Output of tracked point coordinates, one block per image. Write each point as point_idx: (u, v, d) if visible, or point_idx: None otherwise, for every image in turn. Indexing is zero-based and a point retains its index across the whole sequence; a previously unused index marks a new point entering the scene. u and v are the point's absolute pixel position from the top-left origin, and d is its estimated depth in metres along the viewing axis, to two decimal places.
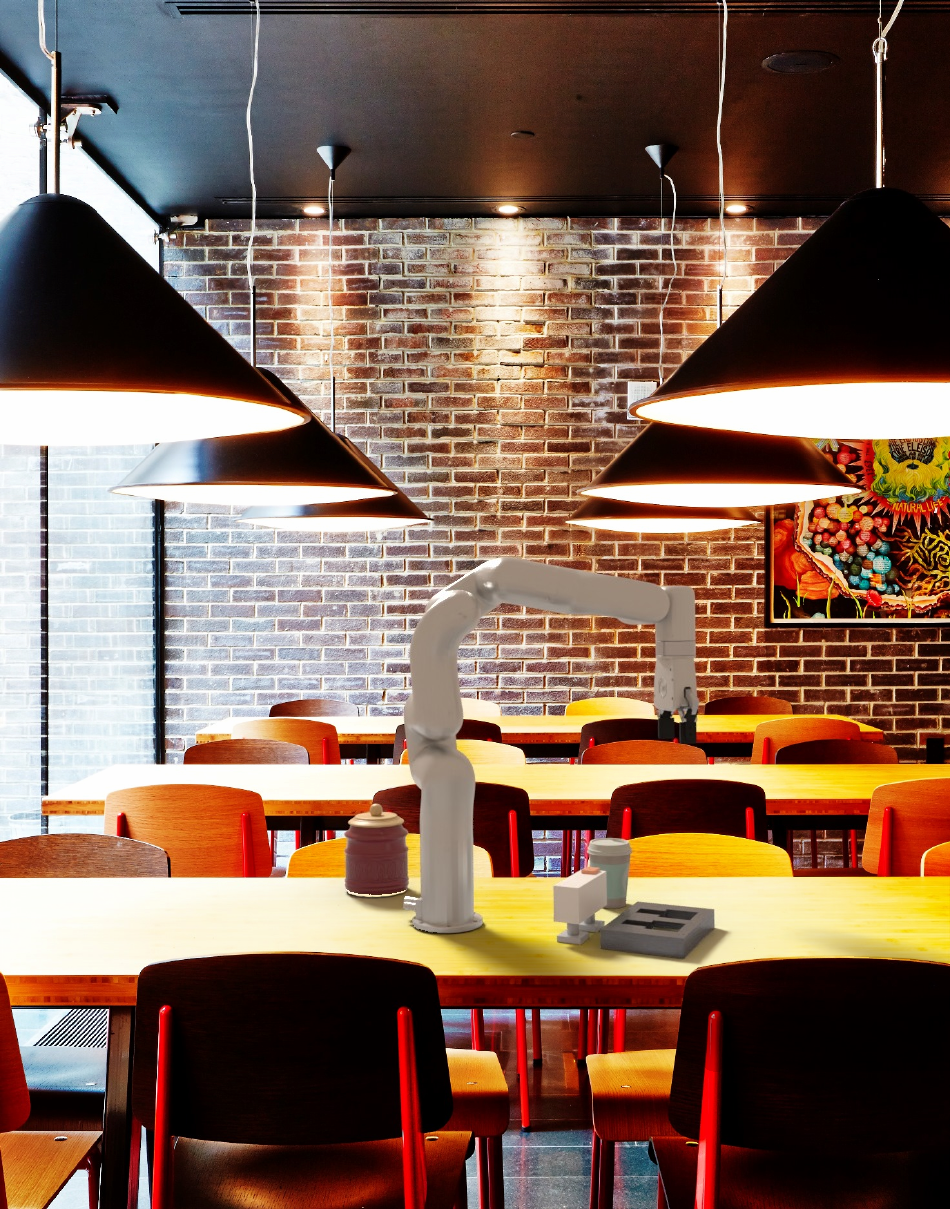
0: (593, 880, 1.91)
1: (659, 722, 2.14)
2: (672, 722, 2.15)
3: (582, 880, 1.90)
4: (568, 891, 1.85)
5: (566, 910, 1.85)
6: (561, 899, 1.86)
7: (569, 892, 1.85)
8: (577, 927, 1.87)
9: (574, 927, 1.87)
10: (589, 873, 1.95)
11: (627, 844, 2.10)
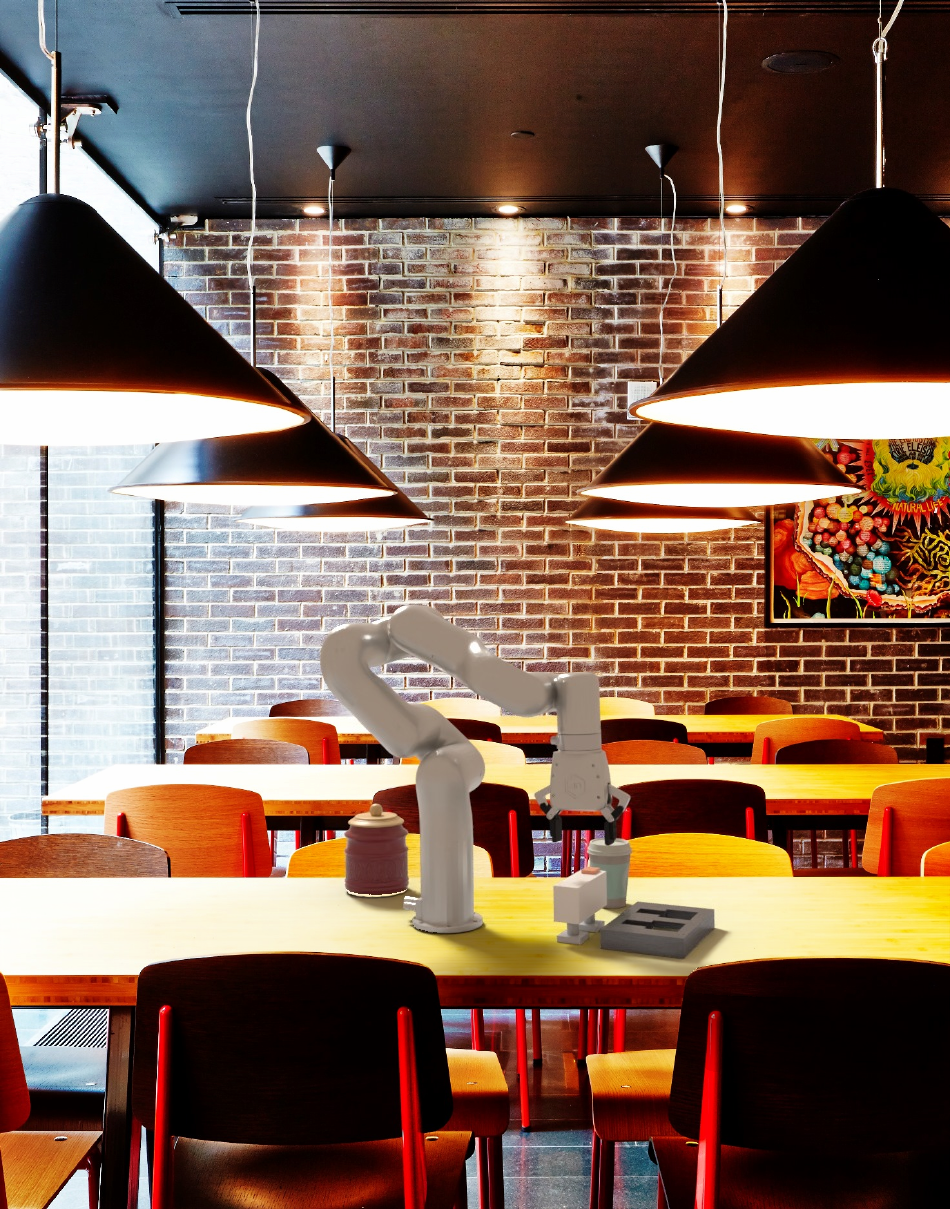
0: (593, 880, 1.91)
1: (554, 824, 1.93)
2: (561, 822, 1.95)
3: (582, 880, 1.90)
4: (568, 891, 1.85)
5: (566, 910, 1.85)
6: (561, 899, 1.86)
7: (569, 892, 1.85)
8: (577, 927, 1.87)
9: (574, 927, 1.87)
10: (589, 873, 1.95)
11: (627, 844, 2.10)
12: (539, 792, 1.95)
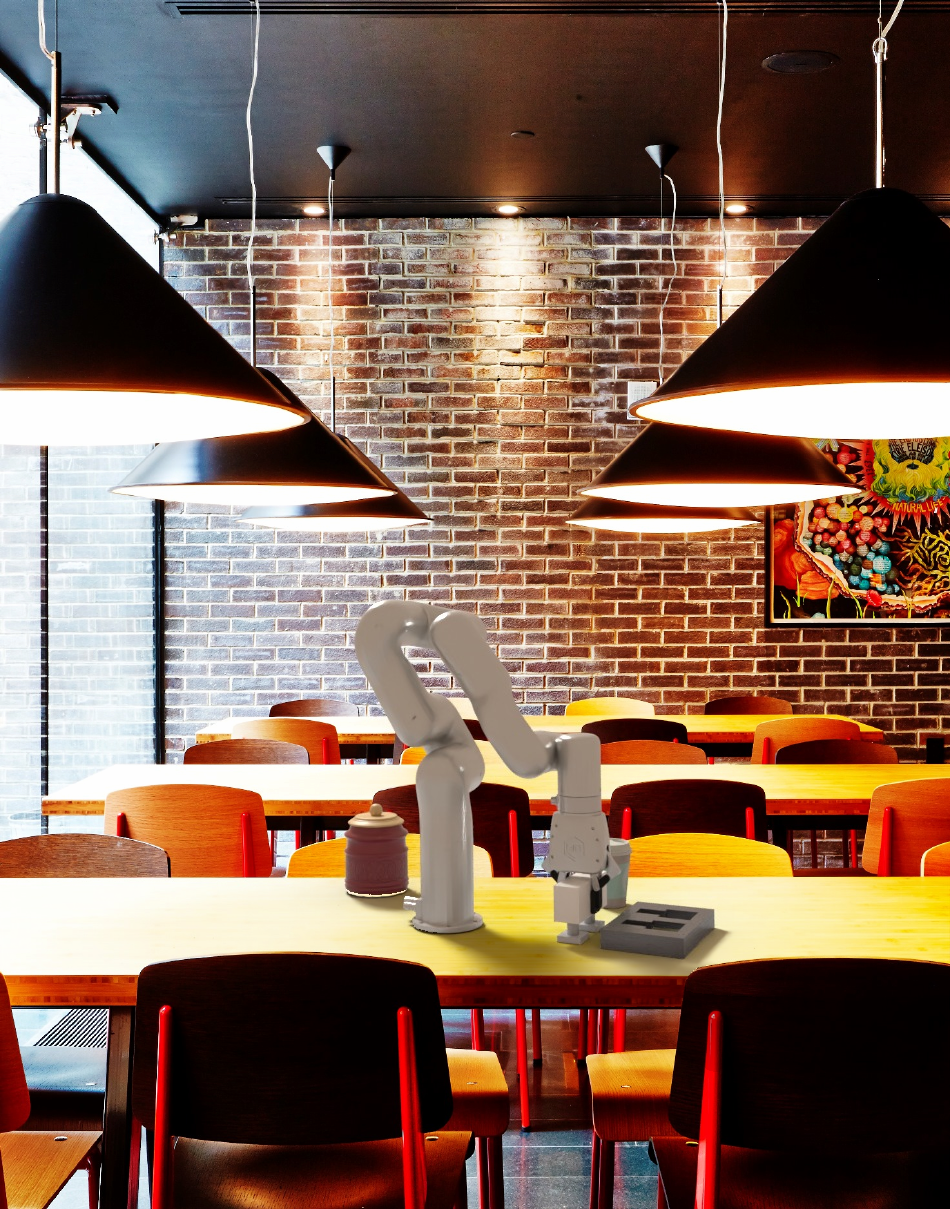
0: None
1: None
2: None
3: (582, 880, 1.90)
4: (568, 891, 1.85)
5: (566, 910, 1.85)
6: (561, 899, 1.86)
7: (569, 892, 1.85)
8: (577, 927, 1.87)
9: (574, 927, 1.87)
10: None
11: (627, 844, 2.10)
12: (545, 862, 1.94)
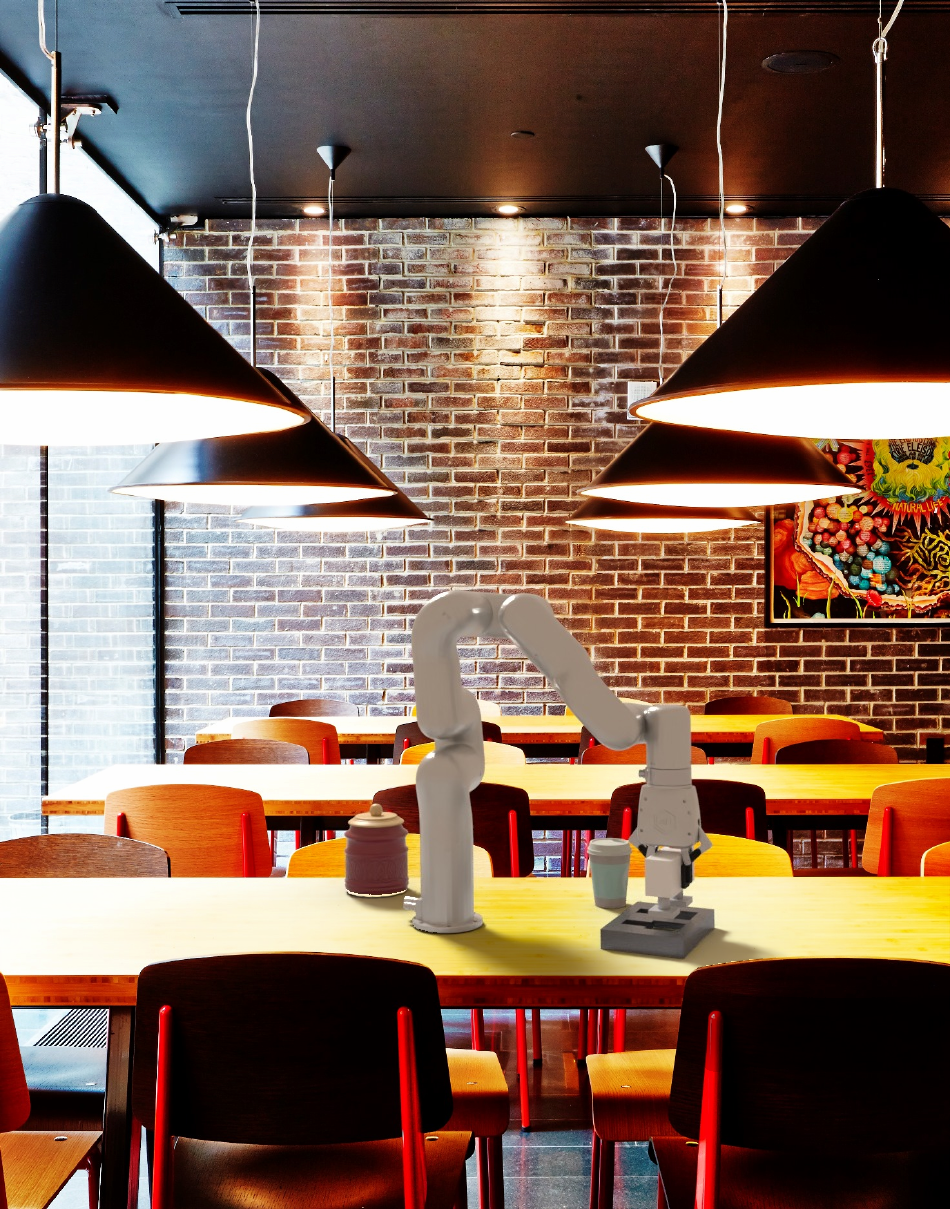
0: None
1: None
2: None
3: (672, 854, 1.86)
4: (660, 865, 1.82)
5: (658, 884, 1.82)
6: (653, 873, 1.82)
7: (662, 865, 1.81)
8: (668, 901, 1.84)
9: (666, 901, 1.83)
10: None
11: (627, 844, 2.10)
12: (632, 836, 1.90)
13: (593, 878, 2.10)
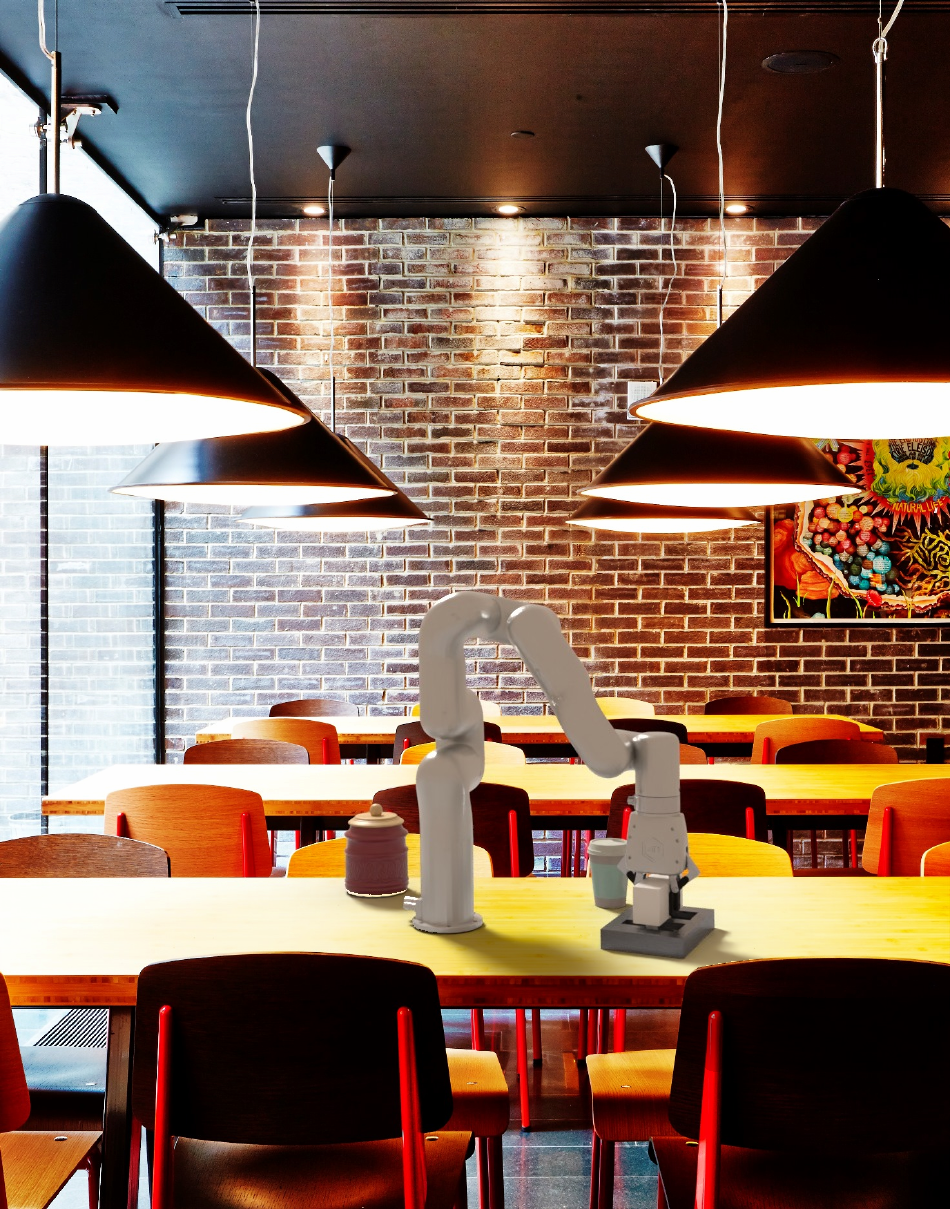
0: None
1: None
2: None
3: (660, 881, 1.87)
4: (648, 893, 1.82)
5: (646, 911, 1.82)
6: (641, 901, 1.83)
7: (650, 893, 1.82)
8: (656, 929, 1.84)
9: (653, 929, 1.84)
10: None
11: None
12: (621, 862, 1.91)
13: (593, 878, 2.10)
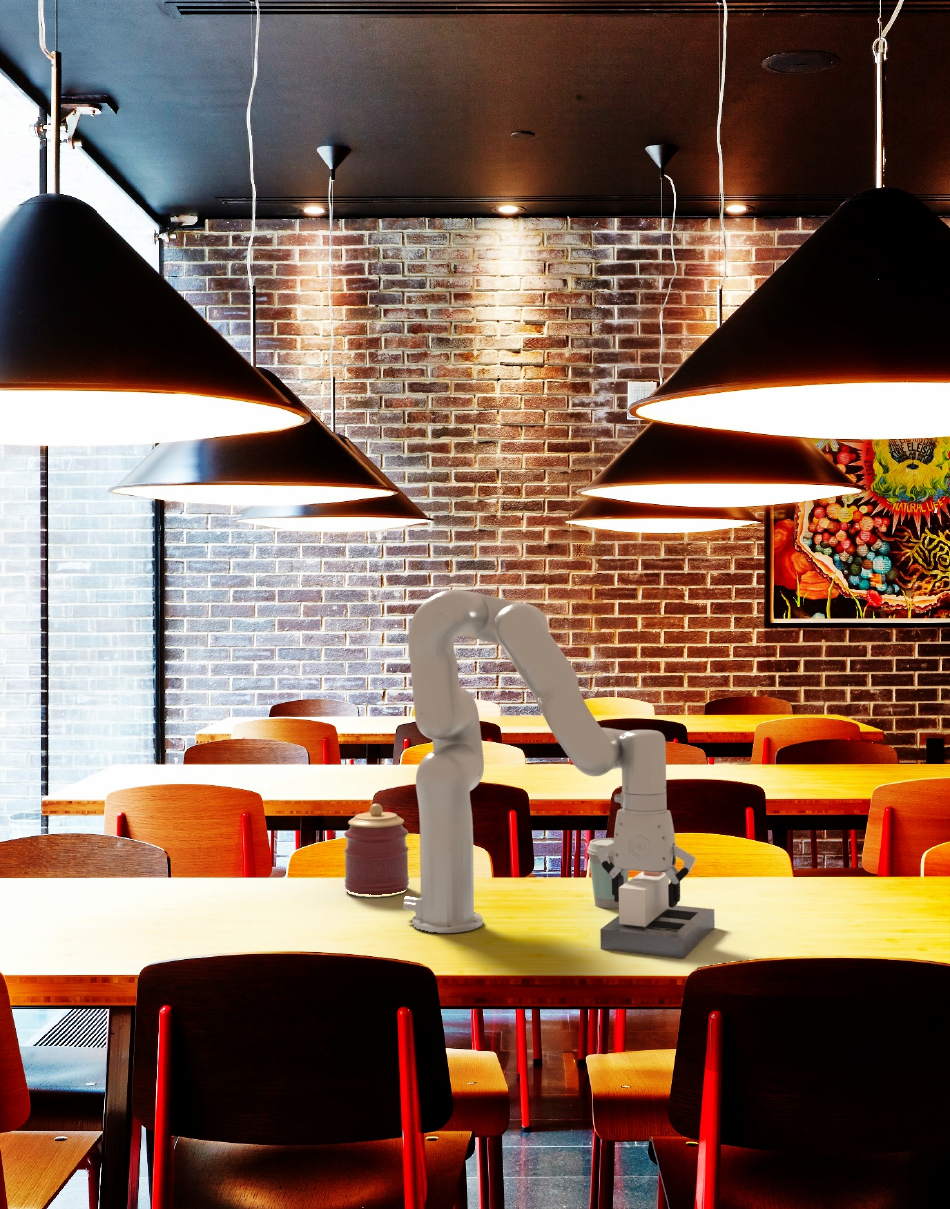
0: (657, 882, 1.89)
1: (616, 883, 1.91)
2: (623, 881, 1.93)
3: (646, 882, 1.88)
4: (633, 893, 1.83)
5: (632, 912, 1.84)
6: (627, 901, 1.84)
7: (635, 894, 1.83)
8: None
9: None
10: (652, 875, 1.93)
11: None
12: (601, 850, 1.93)
13: (593, 878, 2.10)
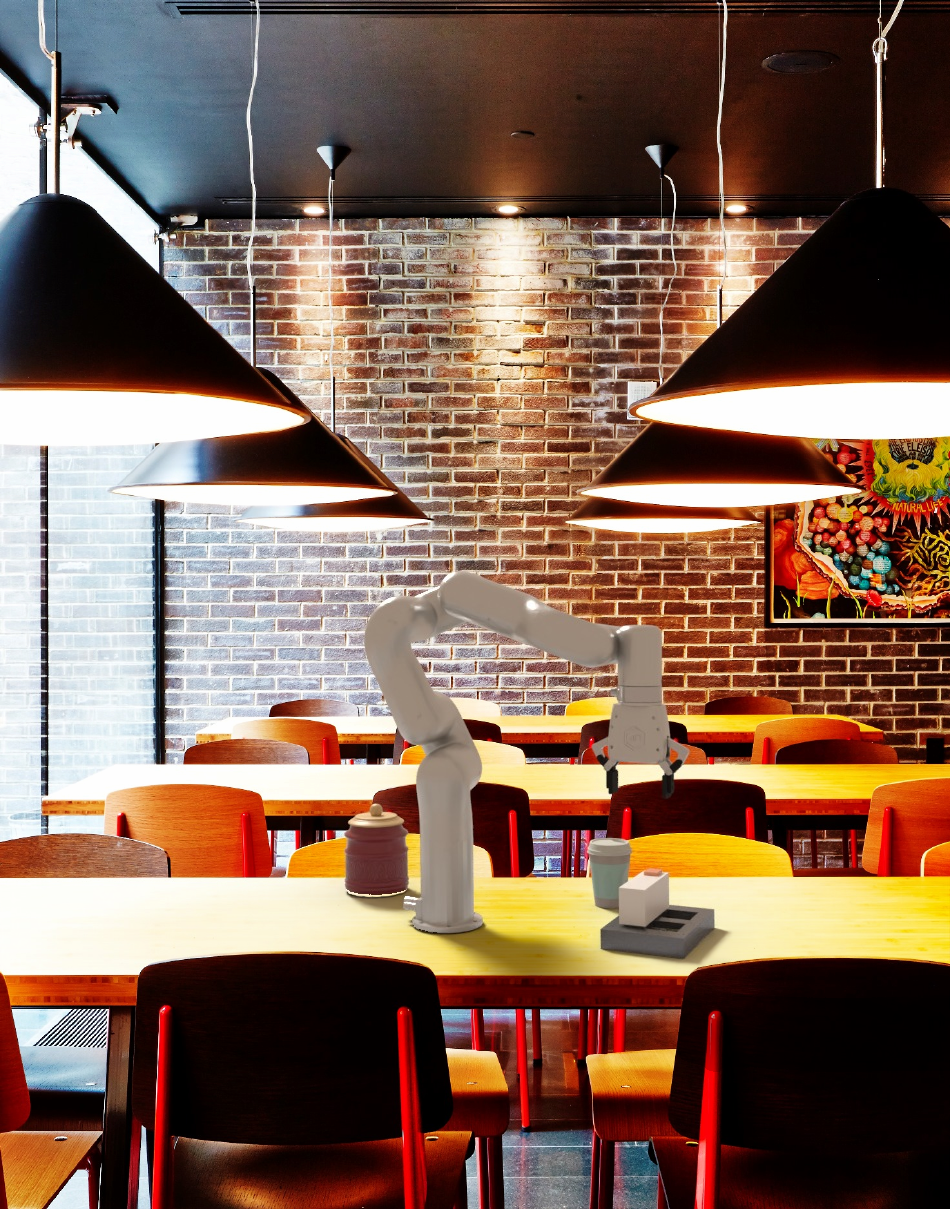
0: (657, 882, 1.89)
1: (611, 776, 1.92)
2: (617, 774, 1.94)
3: (646, 882, 1.88)
4: (633, 893, 1.83)
5: (632, 912, 1.84)
6: (627, 901, 1.84)
7: (635, 894, 1.83)
8: None
9: None
10: (652, 875, 1.93)
11: (627, 844, 2.10)
12: (597, 744, 1.95)
13: (593, 878, 2.10)
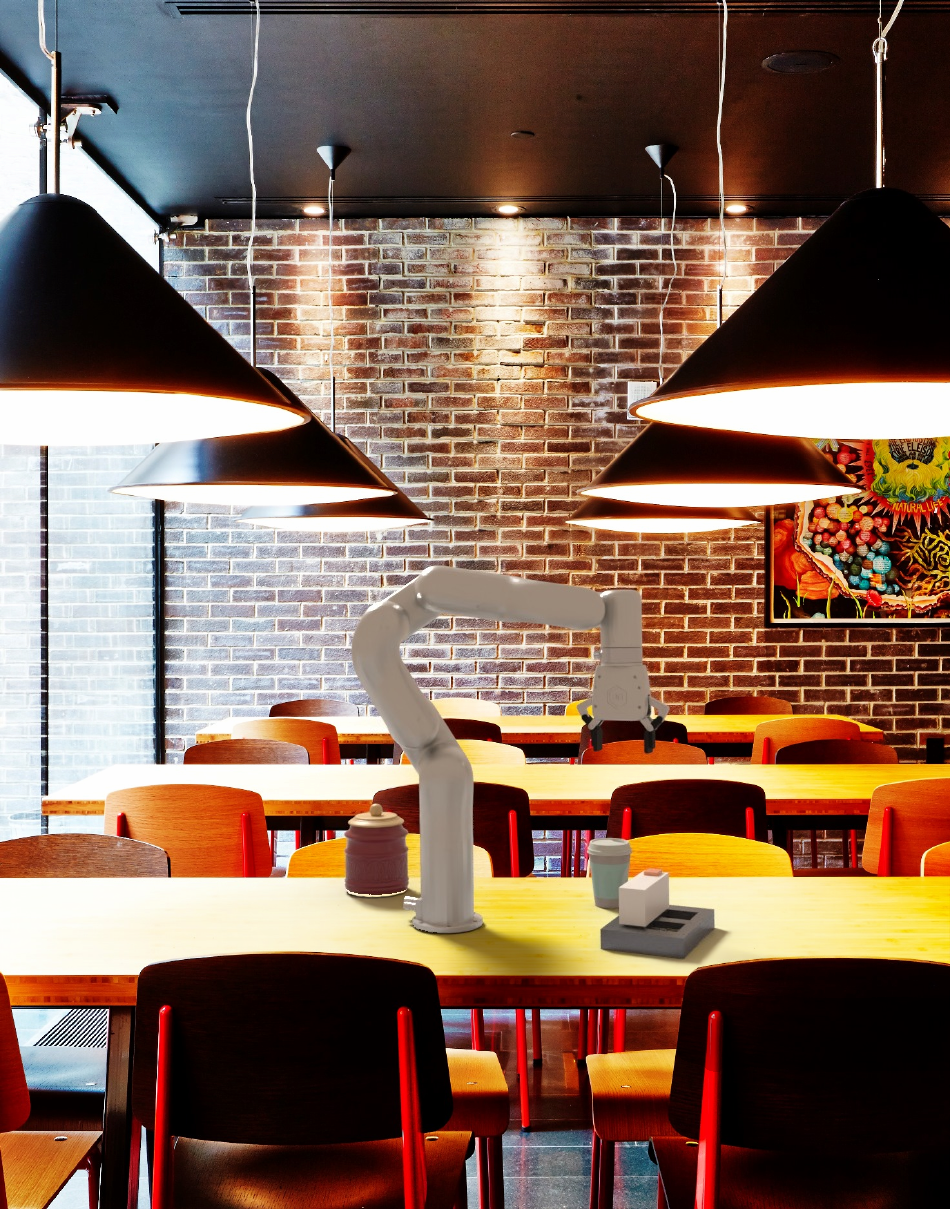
0: (657, 882, 1.89)
1: (595, 734, 2.02)
2: (601, 733, 2.04)
3: (646, 882, 1.88)
4: (633, 893, 1.83)
5: (632, 912, 1.84)
6: (627, 901, 1.84)
7: (635, 894, 1.83)
8: None
9: None
10: (652, 875, 1.93)
11: (627, 844, 2.10)
12: (581, 704, 2.04)
13: (593, 878, 2.10)
